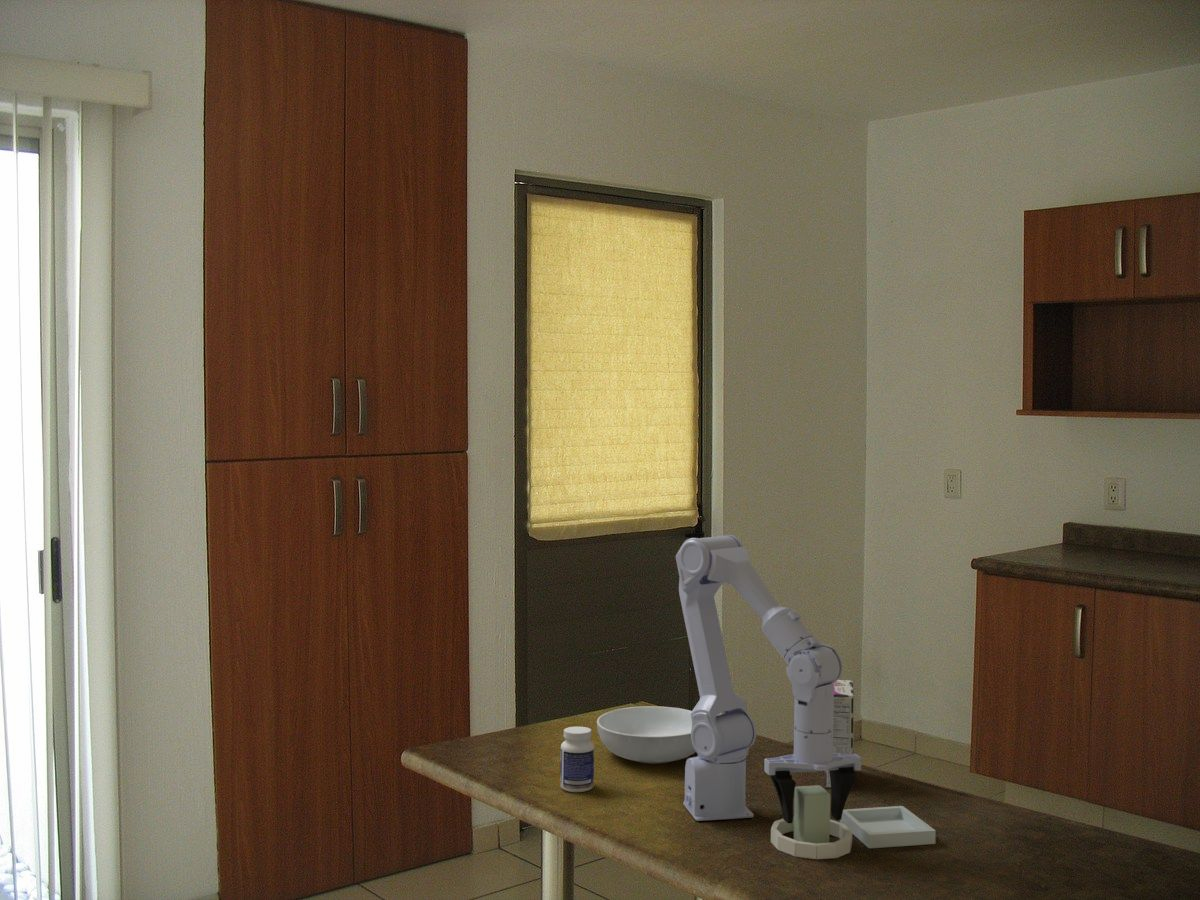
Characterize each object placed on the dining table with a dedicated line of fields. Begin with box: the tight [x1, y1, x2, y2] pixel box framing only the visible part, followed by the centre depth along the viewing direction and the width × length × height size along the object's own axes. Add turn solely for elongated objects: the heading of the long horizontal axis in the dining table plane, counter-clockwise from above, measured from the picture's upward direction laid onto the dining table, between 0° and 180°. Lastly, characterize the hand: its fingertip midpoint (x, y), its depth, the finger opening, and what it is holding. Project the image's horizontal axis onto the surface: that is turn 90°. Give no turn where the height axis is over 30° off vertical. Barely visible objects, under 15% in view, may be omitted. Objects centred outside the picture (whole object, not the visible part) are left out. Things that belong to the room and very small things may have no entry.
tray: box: [839, 805, 937, 849], centre depth 170 cm, size 11×11×2 cm
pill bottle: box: [559, 726, 595, 793], centre depth 189 cm, size 6×6×10 cm
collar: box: [770, 815, 853, 860], centre depth 166 cm, size 12×12×2 cm
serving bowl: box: [596, 705, 697, 765], centre depth 207 cm, size 21×21×7 cm
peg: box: [793, 784, 831, 843], centre depth 166 cm, size 4×4×8 cm
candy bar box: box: [824, 679, 855, 790], centre depth 195 cm, size 11×5×16 cm, turn 168°
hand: (812, 819), depth 166 cm, fingers open, 7 cm apart
